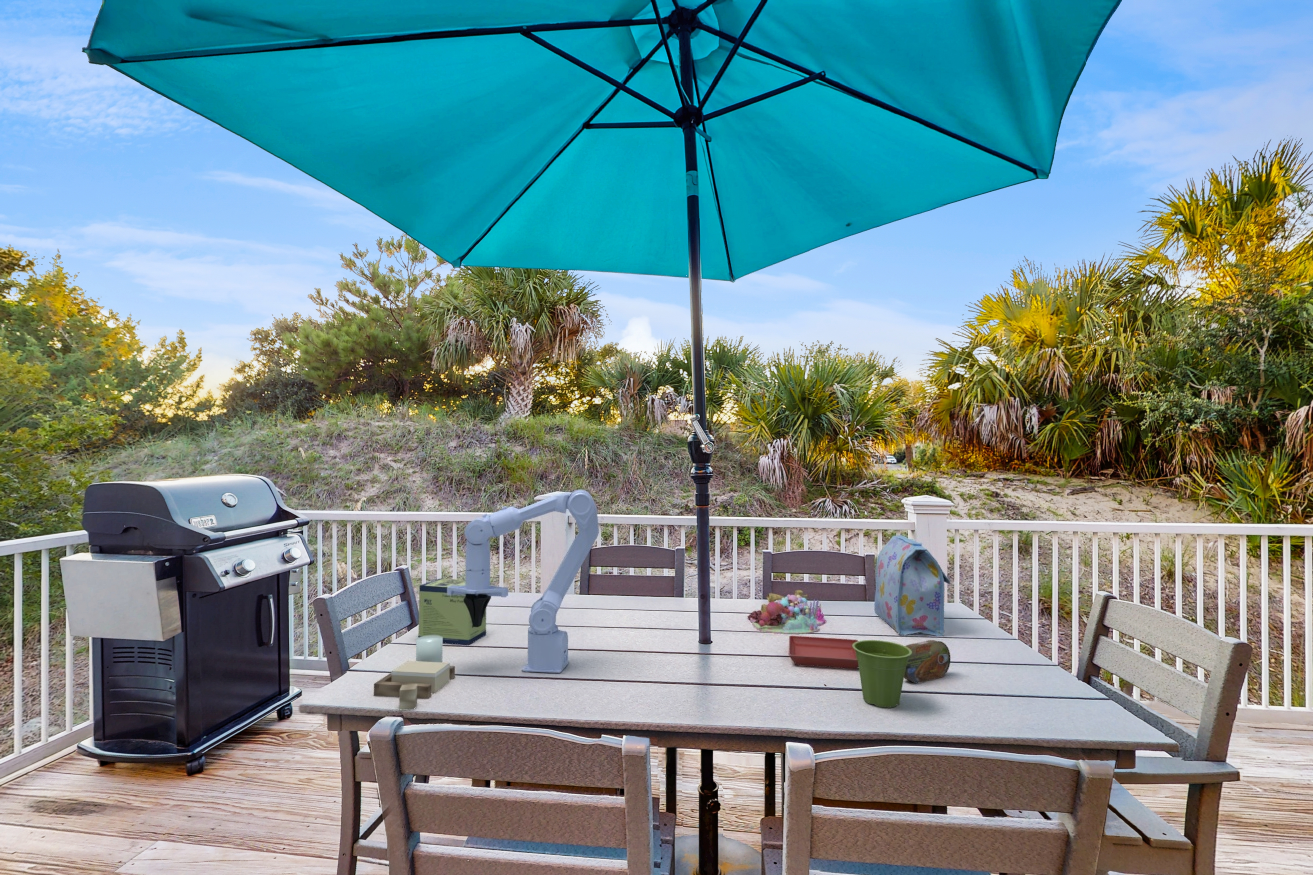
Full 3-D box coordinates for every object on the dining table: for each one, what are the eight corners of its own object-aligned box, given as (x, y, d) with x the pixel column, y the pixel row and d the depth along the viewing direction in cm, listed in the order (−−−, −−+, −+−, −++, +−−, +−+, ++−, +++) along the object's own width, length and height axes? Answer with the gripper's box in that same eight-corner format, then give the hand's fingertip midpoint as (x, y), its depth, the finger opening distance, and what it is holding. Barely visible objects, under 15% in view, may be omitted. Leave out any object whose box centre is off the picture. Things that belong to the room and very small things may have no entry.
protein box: (469, 645, 172) (470, 587, 173) (417, 641, 176) (418, 584, 176) (487, 634, 183) (488, 580, 183) (437, 631, 186) (438, 577, 186)
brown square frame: (454, 677, 148) (454, 666, 148) (428, 698, 135) (428, 686, 135) (404, 674, 150) (405, 663, 150) (373, 695, 137) (373, 683, 137)
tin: (906, 685, 144) (906, 648, 145) (895, 681, 147) (895, 644, 147) (951, 675, 151) (951, 639, 152) (940, 671, 154) (940, 636, 154)
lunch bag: (955, 637, 182) (955, 544, 183) (896, 637, 183) (896, 543, 183) (923, 617, 205) (923, 534, 206) (871, 616, 205) (870, 533, 206)
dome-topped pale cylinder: (446, 664, 157) (446, 635, 158) (435, 672, 151) (435, 642, 152) (423, 662, 158) (423, 634, 158) (411, 671, 152) (411, 641, 152)
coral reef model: (740, 614, 208) (740, 586, 209) (809, 612, 211) (809, 584, 211) (762, 636, 184) (762, 604, 184) (840, 634, 186) (840, 602, 187)
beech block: (416, 703, 133) (417, 683, 133) (414, 708, 130) (415, 688, 130) (401, 704, 132) (401, 684, 132) (399, 710, 129) (399, 690, 129)
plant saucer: (788, 646, 174) (788, 634, 175) (858, 651, 171) (858, 638, 171) (788, 668, 157) (788, 654, 157) (865, 674, 153) (865, 660, 153)
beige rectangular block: (449, 682, 145) (449, 662, 145) (434, 694, 138) (435, 673, 138) (407, 680, 147) (407, 660, 147) (390, 691, 140) (391, 670, 140)
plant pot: (880, 716, 127) (880, 659, 127) (840, 695, 138) (840, 643, 138) (925, 707, 132) (924, 652, 132) (883, 688, 143) (883, 637, 143)
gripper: (441, 571, 151) (440, 629, 150) (500, 572, 149) (500, 631, 149) (454, 565, 158) (453, 621, 157) (511, 567, 156) (510, 623, 156)
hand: (477, 625), depth 154 cm, fingers closed
